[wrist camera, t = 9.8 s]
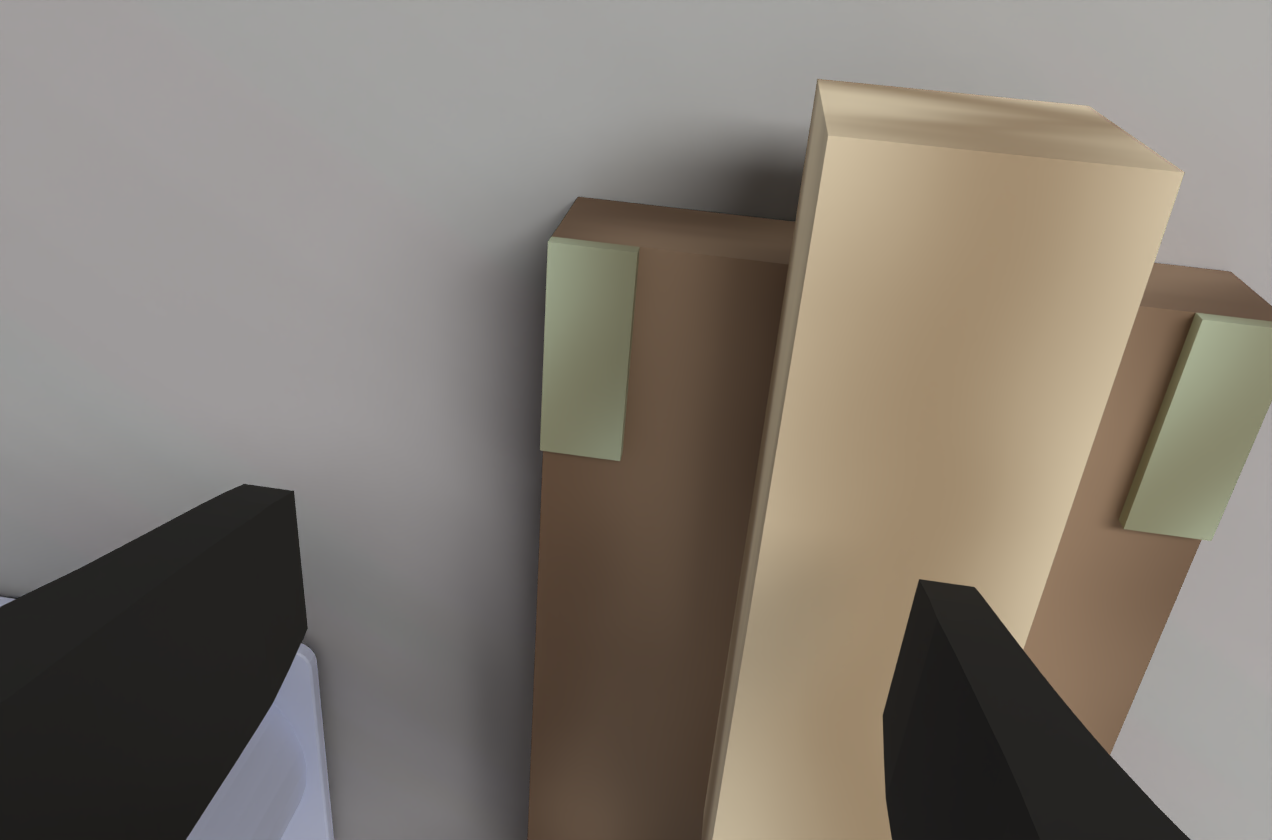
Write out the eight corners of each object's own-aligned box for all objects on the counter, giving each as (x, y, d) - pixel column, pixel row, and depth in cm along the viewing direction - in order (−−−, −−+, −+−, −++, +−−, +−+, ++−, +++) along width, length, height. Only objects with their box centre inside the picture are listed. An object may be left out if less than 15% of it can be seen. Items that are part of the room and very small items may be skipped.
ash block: (703, 810, 23) (689, 979, 19) (817, 78, 15) (827, 135, 12) (881, 838, 22) (899, 1014, 19) (1089, 106, 15) (1185, 172, 11)
